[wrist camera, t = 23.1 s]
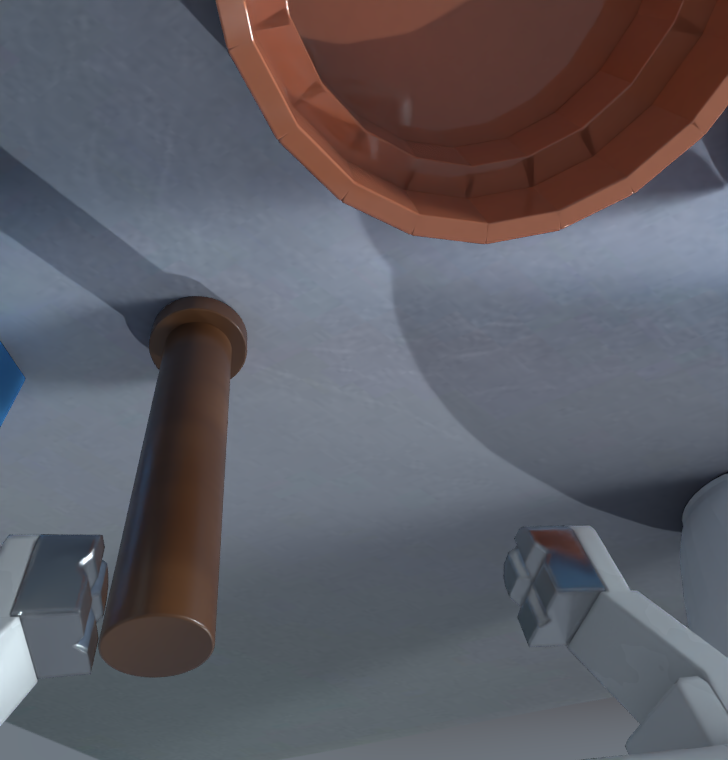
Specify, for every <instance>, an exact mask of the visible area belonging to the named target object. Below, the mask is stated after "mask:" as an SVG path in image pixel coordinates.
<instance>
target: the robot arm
mask: <svg viewBox="0 0 728 760" xmlns="http://www.w3.org/2000/svg"><path fill="white" fill-rule="evenodd" d="M514 539H515V541H516V544H517V546H516V547H515V548H514V549H512V550H511V551H510V552H508V554H507V557H506V559H505V562H504V581H505V586H506V589H507V592H508V595H509V597H510V598H511V599H512V600H513V601H514V602H515V603H516V604H517V605H519V606H520V610H519V613H518V617H517V618H518V620H519V623H520V625H521V628H522V630H523V633H524V635H525V638H526V640H527V643H528V645H529V647H542V646H568V647H567V648H568V649H569V650H570V651H571V652H572V653H573V655H574V656H575V657H576V658H577V659H578V660H579V661H580V662H581V663H582V664H583V665H584V666H585V667H586V668H587V669H588V670H589V671H590V672H591V673H592V674H593V675H594V676H595V677H596V678H597V680H598V681H599V682H600V683H601V684H602V685H603V686H604V687H605V688H606V689H607V690H608V691H609V692H610V693H611V694H612V695H613V696H614V697H615V698H616V699H617V700H618V701H619V702H620V703H621V705H622V706H623V707H624V708H625V709H626V710H627V711H629V713H630V714H631V715H632V716H633V717H634V718H635V719H636V720H637V721H638V722H639V723H640V725H639V727H638V728H637V729H636V730H635V731H634V732H633V734H632V735H631V736H630V737H629V739H628V740H627V742H626V745H625V747H626V750H627V752H628V754H629V755H620V756H611V757H602V758H592V759H583V760H728V658H727V657H726V656H724V655H723V654H722V653H720V652H719V651H718V650H716V649H715V648H714V647H712V646H711V645H710V644H708V643H707V642H706V641H704V640H703V639H702V638H700V637H699V636H698V635H696V634H695V633H694V632H692V631H691V630H690V629H688V628H687V627H686V626H684V625H683V624H682V623H680V622H679V621H677V620H676V619H675V618H673V617H672V616H671V615H669V614H668V613H667V612H665V611H664V610H663V609H661V608H660V607H659V606H657V605H656V604H655V603H653V602H652V601H651V600H649V599H648V598H647V597H645V596H644V595H643V594H641V593H640V592H639V591H637V590H630V588H629V587H628V585H627V583H626V581H625V580H624V578H623V576H622V575H621V573H620V571H619V570H618V568H617V566H616V564H615V563H614V561H613V559H612V558H611V556H610V554H609V553H608V551H607V549H606V547H605V546H604V544H603V542H602V541H601V539H600V537H599V536H598V534H597V532H596V531H595V529H594V528H592V527H591V526H590V525H587V526H564V525H562V526H530V527H522V528H521V529H519V530H518V532H517V534H516V536H515V538H514ZM104 548H105V546H104V540H103V535H56V534H41V535H9V536H8V537H7V539H6V540H5V541H4V542H3V544H2V546H1V549H0V726H1V725H2V724H3V723H4V721H5V720H6V719H7V718H8V717H9V715H10V714H11V713H12V712H13V711H14V709H15V708H16V707H17V706H18V705H19V704H20V702H21V701H22V700H23V699H24V698H25V696H26V695H27V694H28V693H29V692H30V690H31V689H32V688H33V687H34V686H35V685H36V683H37V682H38V681H37V679H40V678H51V677H63V676H74V675H86V674H91V670H92V665H93V661H94V656H95V652H96V647H97V643H98V632H97V626H96V622H97V621H98V620H99V619H100V618H101V617H102V616H103V615H104V610H105V605H106V600H107V591H108V567H107V563H106V562H105V561H103V560H102V557H103V553H104Z"/></svg>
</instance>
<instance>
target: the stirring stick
mask: <svg viewBox="0 0 728 760" xmlns="http://www.w3.org/2000/svg"><path fill="white" fill-rule="evenodd" d="M149 350H150V354H151V358H152V360H153V362H154V364H155V365H156V367H157V368H158V369H159V374H158V379H157V383H156V388H155V392H154V397H153V401H152V405H151V410H150V414H149V419H148V423H147V428H146V432H145V437H144V441H143V446H142V450H141V455H140V459H139V464H138V468H137V473H136V477H135V482H134V486H133V491H132V495H131V499H130V504H129V508H128V513H127V517H126V522H125V526H124V531H123V535H122V540H121V544H120V549H119V553H118V558H117V562H116V567H115V571H114V576H113V580H112V584H111V589H110V593H109V598H108V602H107V607H106V611H105V616H104V620H103V625H102V629H101V634H100V638H99V643H98V649H99V653H100V655H101V657H102V659H103V660H104V661H105V662H106V663H107V664H108V665H109V666H111V667H112V668H114V669H116V670H118V671H120V672H123V673H126V674H130V675H134V676H140V677H167V676H174V675H178V674H182V673H185V672H188V671H190V670H193V669H195V668H196V667H198V666H200V665H201V664H203V663H204V662H205V661H206V660H207V659H208V658H209V657H210V655H211V654H212V652H213V649H214V646H215V633H216V616H217V599H218V581H219V564H220V547H221V529H222V512H223V495H224V477H225V460H226V443H227V425H228V408H229V390H230V379H231V378H233V377H234V376H235V375H236V374H237V373H238V372H239V371H240V369H241V368H242V367H243V364H244V362H245V359H246V355H247V332H246V328H245V325H244V323H243V321H242V319H241V318H240V316H239V315H238V314H237V313H236V312H235V311H234V310H233V309H232V308H231V307H229V306H228V305H226V304H225V303H223V302H221V301H218V300H215V299H212V298H208V297H202V296H192V297H186V298H181V299H179V300H176V301H174V302H172V303H170V304H169V305H167V306H166V307H165V308H163V309H162V310H161V312H160V313H159V314H158V316H157V317H156V319H155V322H154V324H153V328H152V332H151V336H150V340H149Z"/></svg>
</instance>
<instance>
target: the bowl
mask: <svg viewBox="0 0 728 760" xmlns="http://www.w3.org/2000/svg"><path fill="white" fill-rule="evenodd" d="M215 2H216V6H217V10H218V15H219V19H220V23H221V27H222V31H223V36H224V40H225V44H226V47H227V49H228V53H229V54H230V56H231V58H232V60H233V62H234V63H235V65H236V67H237V69H238V71H239V72H240V74H241V76H242V78H243V80H244V82H245V83H246V85H247V87H248V89H249V91H250V92H251V94H252V96H253V98H254V100H255V101H256V103H257V105H258V107H259V109H260V110H261V112H262V114H263V116H264V118H265V119H266V121H267V123H268V125H269V127H270V129H271V130H272V132H273V134H274V136H275V138H276V139H277V140H278V141H279V143H280V144H281V145H282V146H283V147H285V148H286V149H287V150H288V151H289V152H290V153H291V154H292V155H293V156H294V157H295V158H296V159H297V160H298V161H299V162H300V163H301V164H302V165H303V166H304V167H305V168H306V169H307V170H308V171H309V172H310V173H311V174H313V175H314V176H315V177H316V178H317V179H318V180H319V181H320V182H321V183H322V184H323V185H324V186H325V187H326V188H327V189H328V190H329V191H330V192H331V193H332V194H333V195H334V196H335V197H336V198H337V199H339V200H341V201H342V202H343V203H345V204H347V205H349V206H351V207H353V208H355V209H357V210H359V211H361V212H364V213H366V214H368V215H370V216H372V217H374V218H376V219H378V220H380V221H382V222H384V223H387V224H389V225H391V226H393V227H395V228H397V229H399V230H401V231H403V232H405V233H407V234H411V235H413V236H421V237H429V238H437V239H445V240H453V241H462V242H470V243H478V244H489V243H495V242H500V241H505V240H511V239H516V238H521V237H527V236H532V235H538V234H543V233H548V232H554V231H559V230H560V229H563V228H565V227H567V226H569V225H571V224H573V223H576V222H578V221H580V220H582V219H584V218H586V217H588V216H590V215H592V214H594V213H596V212H598V211H600V210H602V209H604V208H606V207H608V206H610V205H612V204H614V203H616V202H618V201H620V200H622V199H624V198H626V197H628V196H630V195H632V194H633V193H636V192H637V191H638V190H640V189H641V188H642V187H643V186H644V185H646V184H647V183H648V182H649V181H650V180H652V179H653V178H654V177H655V176H656V175H658V174H659V173H660V172H661V171H662V170H664V169H665V168H666V167H667V166H668V165H670V164H671V163H672V162H673V161H674V160H676V159H677V158H678V157H679V156H680V155H682V154H683V153H684V152H685V151H686V150H688V149H689V148H690V147H691V146H692V145H694V144H695V143H696V142H697V141H698V140H699V139H701V138H702V137H703V136H704V135H705V134H706V133H707V132H708V130H709V129H710V128H711V127H712V125H713V124H714V123H715V121H716V120H717V119H718V118H719V116H720V115H721V114H722V112H723V111H724V110H725V109H726V107H727V106H728V0H215Z"/></svg>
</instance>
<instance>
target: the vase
mask: <svg viewBox="0 0 728 760" xmlns="http://www.w3.org/2000/svg"><path fill="white" fill-rule="evenodd" d="M682 522H683V530H682V536H681V547H680V568H681V576H682V586H683V596H684V602H685V608H686V615H687V621H688V627H689V629H690V630H691V631H692V632H694V633H695V634H696V635H698V636H699V637H700V638H702V639H703V640H704V641H706V642H707V643H708V644H710V645H711V646H712V647H714V648H715V649H716V650H718V651H719V652H720V653H722V654H723V655H724V656H726V657H727V658H728V473H727V474H724V475H722V476H720V477H718V478H716V479H714V480H712V481H711V482H709V483H708V484H707V485H705V486H704V487H702V488H701V489H700V490H699V491H698V492H697V493H696V494H695V495H694V496H693V497H692V498H691V499H690V500H689V502H688V504H687V505H686V507H685V509H684V512H683V515H682Z"/></svg>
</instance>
